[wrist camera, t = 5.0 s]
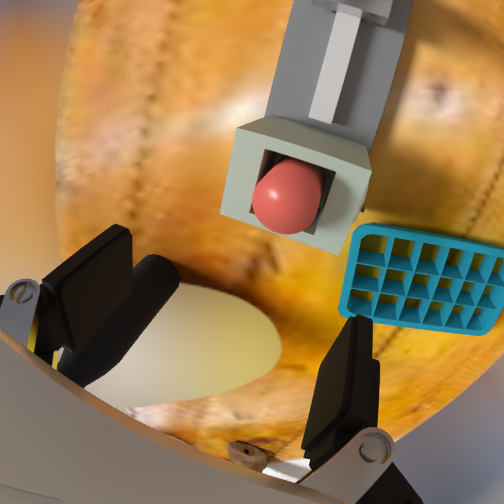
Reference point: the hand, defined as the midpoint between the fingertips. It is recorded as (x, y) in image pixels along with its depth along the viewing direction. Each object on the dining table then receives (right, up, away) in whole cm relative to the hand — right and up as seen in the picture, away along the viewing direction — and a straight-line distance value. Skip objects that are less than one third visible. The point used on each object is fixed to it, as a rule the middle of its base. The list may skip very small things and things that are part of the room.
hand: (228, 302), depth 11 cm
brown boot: (+1, -48, +55) cm, 73 cm away
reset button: (+5, +7, +13) cm, 15 cm away
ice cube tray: (+21, -1, +20) cm, 29 cm away
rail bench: (+9, +19, +13) cm, 24 cm away
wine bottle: (-12, -1, +32) cm, 34 cm away
